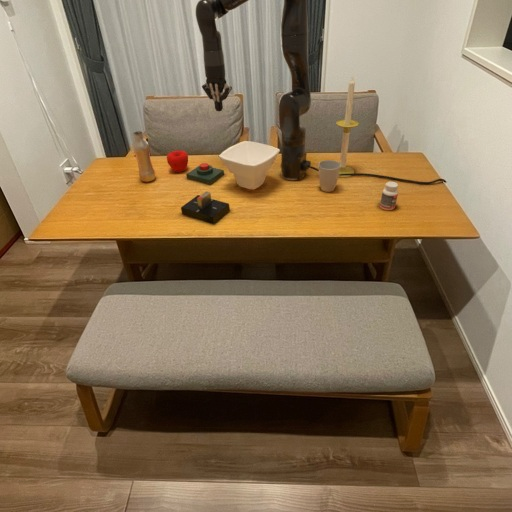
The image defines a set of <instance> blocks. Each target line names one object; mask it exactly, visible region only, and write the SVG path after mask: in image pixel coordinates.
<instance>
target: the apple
mask: <svg viewBox="0 0 512 512" xmlns="http://www.w3.org/2000/svg"><path fill="white" fill-rule="evenodd" d="M166 162H167V164H168V165H169V167H170V169H171V170H172V171H174V172H177V173H179V172H184V171H185V170H186V169H187V167H188V164H189V155H188V153H187V152H186V151H184V150H174V151H171V152H169V153H167V155H166Z"/></svg>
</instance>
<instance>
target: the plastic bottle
mask: <svg viewBox="0 0 512 512" xmlns="http://www.w3.org/2000/svg"><path fill="white" fill-rule="evenodd" d="M132 136H133V139H134V140H133V142H132V150H133V153H134V156H135V158H136V162H137V166H138V175H139V176H138V177H139V178H140V180H141V181H142V182H145V183H148V182H152V181H154V180H155V178H156V172H155V169H154V167H153V162H152V159H151V154H150V145H149V143H148V141H147V140H146V139H145V138H144V134H143V131H141V130H139V131H135V132H133V133H132Z"/></svg>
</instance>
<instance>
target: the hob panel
mask: <svg viewBox="0 0 512 512" xmlns="http://www.w3.org/2000/svg"><path fill="white" fill-rule="evenodd" d="M200 196H201V195H200V194H197V195H196V196H194V197H193V198H192V199H190V200H189V201H188V202H186V203H185V204H183V206H181V207H180V210H181V214H182V216H184V217H189V218H192V219H195V220H198V221H201V222H204V223H208V224H211V225H215V224H216V223H218V222H219V221H220V220H221V219H222V218H223V217H224V216H226V215H227V214H228V213H229V212H231V209H230V203H228V202H224V201H221V200H218V199H214V198H211V201H212V203H210V204H209V205H208V206H206V207H205V208H204V209H203V210H202V209H199V208H198V202H197V198H198V197H200Z"/></svg>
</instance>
